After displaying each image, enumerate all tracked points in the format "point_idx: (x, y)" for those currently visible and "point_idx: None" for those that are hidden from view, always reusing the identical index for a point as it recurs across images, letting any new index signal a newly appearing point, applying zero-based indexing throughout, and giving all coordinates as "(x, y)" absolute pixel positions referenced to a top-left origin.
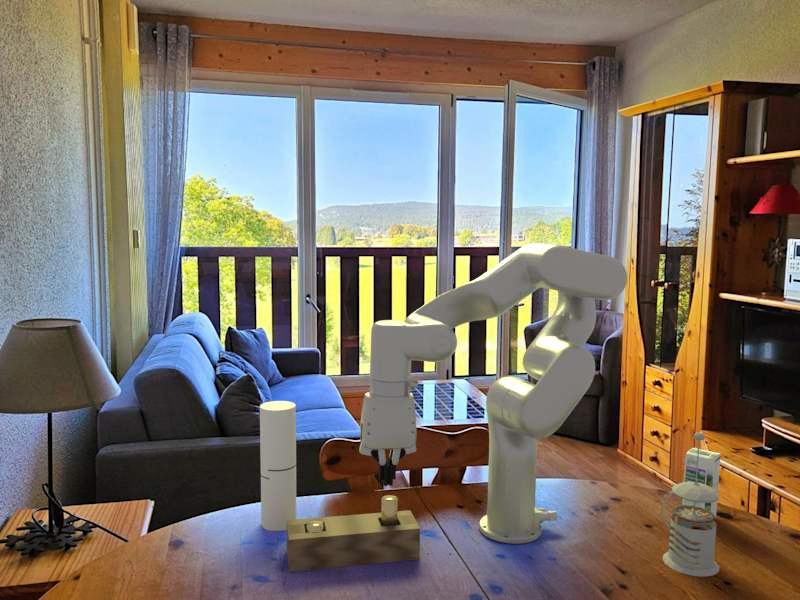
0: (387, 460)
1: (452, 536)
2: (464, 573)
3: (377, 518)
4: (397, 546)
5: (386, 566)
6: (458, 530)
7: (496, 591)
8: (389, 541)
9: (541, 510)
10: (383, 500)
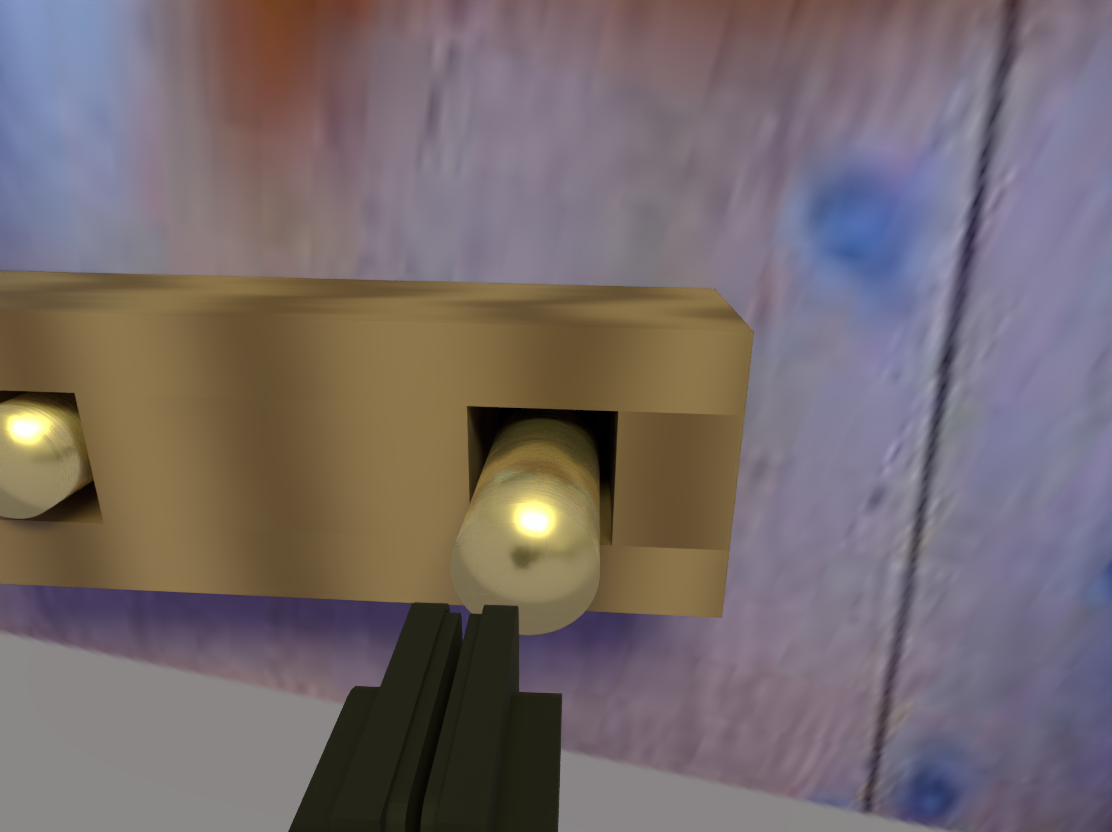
0: (439, 823)
1: (993, 306)
2: (857, 674)
3: (463, 418)
4: None
5: None
6: (1077, 232)
7: (919, 813)
8: None
9: None
10: (461, 598)
